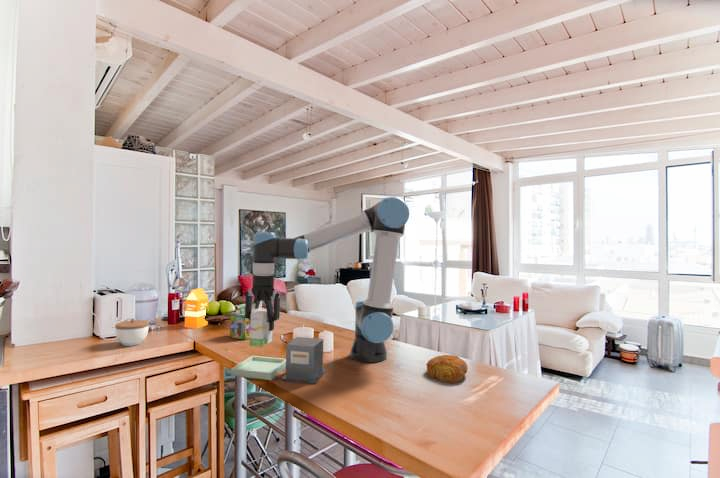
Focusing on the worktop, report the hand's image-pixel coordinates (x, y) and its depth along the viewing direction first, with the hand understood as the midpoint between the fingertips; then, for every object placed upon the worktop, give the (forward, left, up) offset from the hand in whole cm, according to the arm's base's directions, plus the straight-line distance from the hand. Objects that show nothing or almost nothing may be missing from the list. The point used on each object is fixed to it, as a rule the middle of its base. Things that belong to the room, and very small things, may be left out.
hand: (261, 338), depth 130 cm
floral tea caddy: (+29, -39, -12) cm, 50 cm away
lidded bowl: (+69, -15, -12) cm, 71 cm away
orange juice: (+64, -52, -12) cm, 83 cm away
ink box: (0, 0, -2) cm, 2 cm away
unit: (-17, +1, -11) cm, 21 cm away
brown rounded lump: (-66, -14, -12) cm, 68 cm away
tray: (0, 0, -11) cm, 11 cm away
